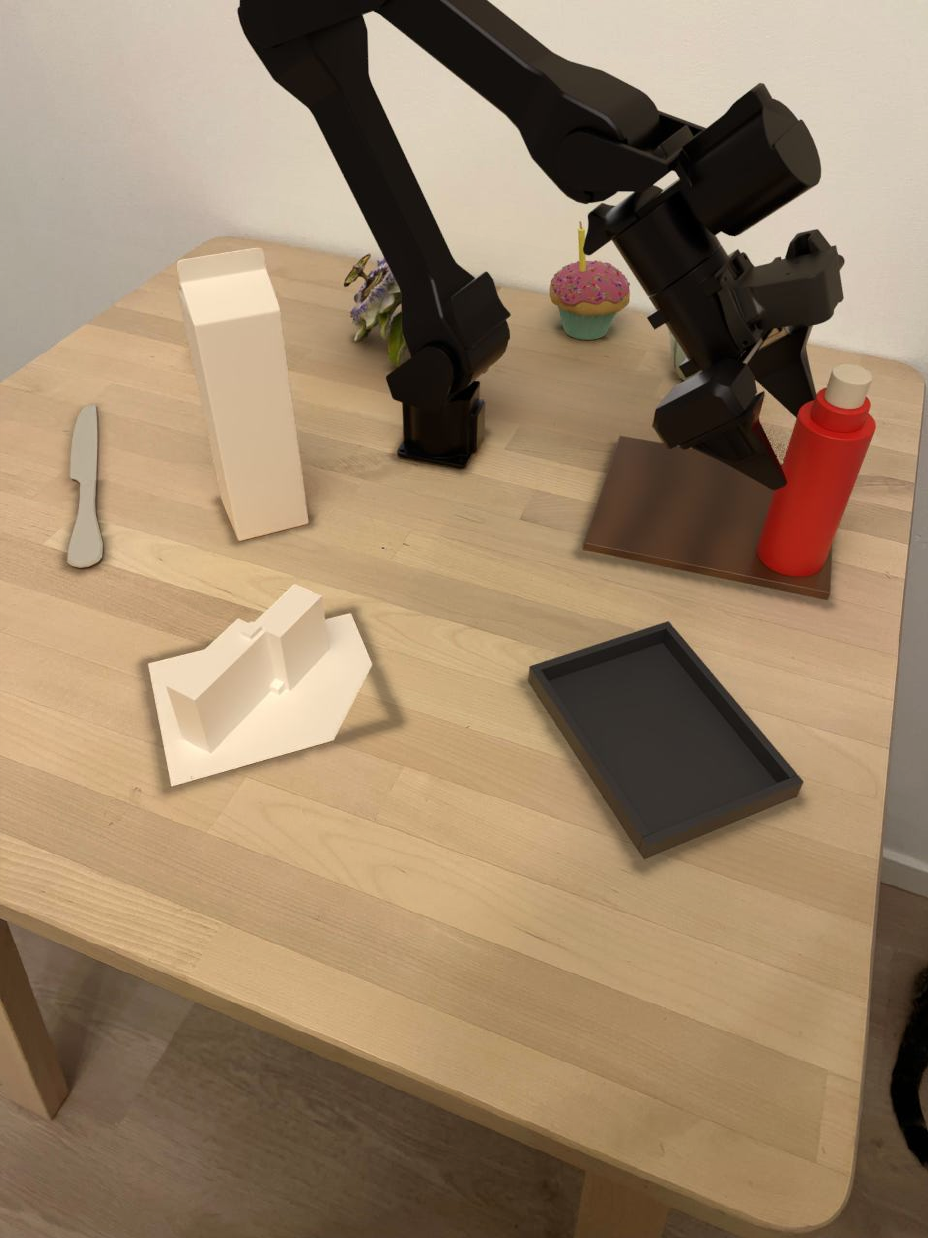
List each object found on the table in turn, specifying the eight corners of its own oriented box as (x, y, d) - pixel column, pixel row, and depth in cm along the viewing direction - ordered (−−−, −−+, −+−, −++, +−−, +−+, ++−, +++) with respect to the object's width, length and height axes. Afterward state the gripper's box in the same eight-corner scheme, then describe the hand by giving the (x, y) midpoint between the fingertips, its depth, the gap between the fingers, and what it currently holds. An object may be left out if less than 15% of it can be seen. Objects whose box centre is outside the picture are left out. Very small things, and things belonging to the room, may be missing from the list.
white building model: (172, 789, 58) (151, 731, 54) (145, 664, 66) (126, 605, 62) (399, 721, 62) (395, 663, 58) (349, 611, 70) (344, 553, 66)
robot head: (652, 362, 97) (662, 300, 92) (688, 357, 98) (700, 295, 93) (685, 402, 91) (698, 338, 87) (723, 396, 92) (738, 333, 87)
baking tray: (527, 685, 65) (529, 665, 64) (664, 640, 68) (668, 620, 67) (642, 863, 55) (647, 845, 54) (795, 800, 58) (804, 781, 57)
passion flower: (368, 384, 103) (340, 273, 101) (464, 361, 103) (438, 249, 101) (360, 376, 92) (329, 251, 90) (467, 350, 92) (438, 225, 90)
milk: (309, 524, 77) (277, 265, 62) (237, 542, 75) (185, 280, 60) (289, 483, 81) (253, 229, 66) (219, 499, 79) (166, 242, 64)
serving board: (581, 554, 75) (583, 542, 74) (618, 446, 86) (619, 435, 85) (825, 604, 71) (830, 593, 70) (831, 484, 82) (835, 473, 81)
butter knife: (62, 567, 72) (101, 561, 73) (73, 404, 89) (105, 400, 89) (63, 571, 72) (103, 565, 73) (74, 408, 89) (106, 404, 89)
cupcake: (572, 355, 98) (584, 241, 89) (531, 320, 103) (539, 209, 95) (640, 337, 101) (657, 225, 92) (596, 304, 106) (609, 196, 97)
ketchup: (779, 583, 71) (842, 399, 60) (743, 541, 75) (797, 360, 63) (837, 569, 72) (910, 386, 61) (799, 529, 76) (861, 348, 65)
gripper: (740, 258, 52) (875, 481, 56) (827, 158, 64) (934, 349, 68) (594, 349, 60) (721, 538, 64) (695, 246, 72) (797, 412, 76)
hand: (799, 454), depth 68 cm, fingers open, 9 cm apart
